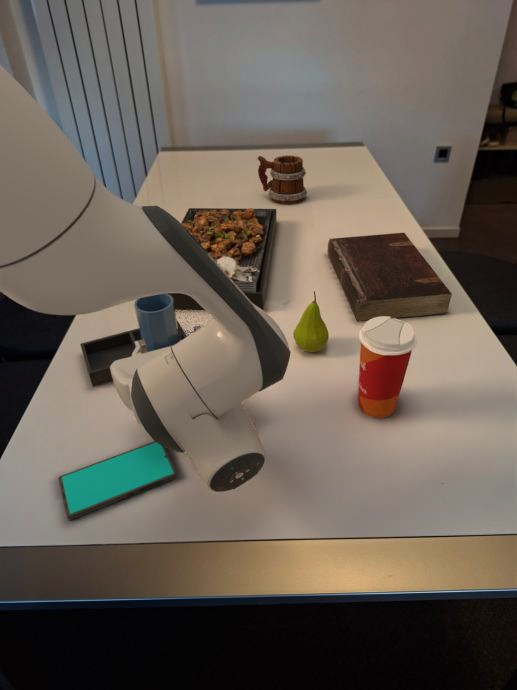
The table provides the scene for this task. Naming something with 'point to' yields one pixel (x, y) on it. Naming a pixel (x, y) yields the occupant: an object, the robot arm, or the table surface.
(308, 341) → the fruit
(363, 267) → the hardback book
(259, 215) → the food platter
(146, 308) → the blue cup
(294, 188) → the mug
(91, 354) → the tray
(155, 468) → the smartphone
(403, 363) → the coffee cup
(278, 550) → the table surface
